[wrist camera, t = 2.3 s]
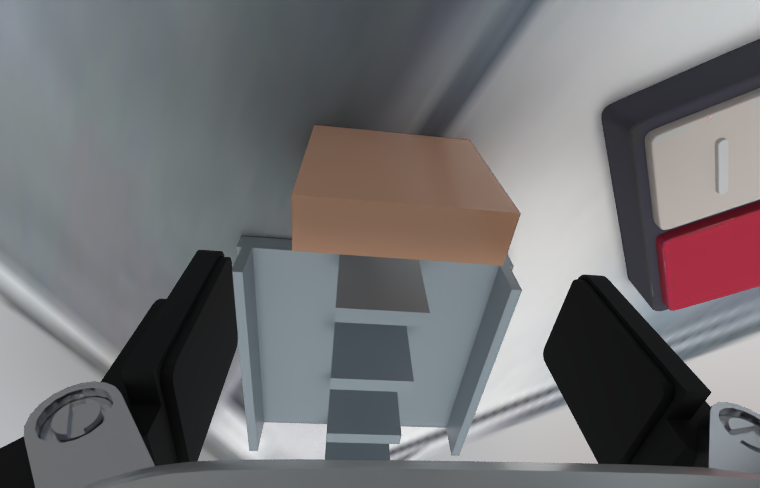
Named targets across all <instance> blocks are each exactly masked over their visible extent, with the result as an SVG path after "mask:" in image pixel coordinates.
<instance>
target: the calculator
mask: <svg viewBox="0 0 760 488" xmlns="http://www.w3.org/2000/svg"><path fill="white" fill-rule="evenodd" d="M602 125H603V131H604V137H605V143H606V149H607V155H608V161H609V167H610V173H611V179H612V185H613V191H614V197H615V203H616V209H617V214H618V220H619V226H620V232H621V238H622V244H623V250H624V256H625V262H626V268H627V274H628V278H629V280H630V281H631V283H632V284H633V285H634V287H635V288H636V289H637V290H638V292H639V293H640V294H641V295H642V297H643V298H644V299H645V300H646V302H647V303H648V304H649V305H650V307H651V308H652V309H653V310H655V311H663V310H667V309H669V310H678V309H682V308H685V307H689V306H692V305H696V304H699V303H703V302H706V301H710V300H713V299H717V298H720V297H724V296H727V295H731V294H734V293H738V292H741V291H745V290H748V289H752V288H755V287H758V286H760V39H759V40H757V41H755V42H752V43H750V44H747V45H745V46H743V47H740V48H738V49H735V50H733V51H731V52H728V53H726V54H724V55H721V56H719V57H717V58H714V59H712V60H710V61H707V62H705V63H703V64H701V65H698V66H696V67H694V68H691V69H689V70H687V71H685V72H682V73H680V74H678V75H675V76H673V77H671V78H669V79H666V80H664V81H662V82H659V83H657V84H655V85H653V86H650V87H648V88H646V89H643V90H641V91H639V92H637V93H634V94H632V95H630V96H627V97H625V98H623V99H621V100H618V101H616V102H614V103H612V104H610V105H608V106H607V107H606V108H605V109H604V111H603V112H602Z"/></svg>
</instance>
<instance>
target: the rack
mask: <svg viewBox="0 0 760 488" xmlns="http://www.w3.org/2000/svg"><path fill="white" fill-rule="evenodd" d="M512 269H513V264H512V262H511V260H510V258H509V257H508V255H507V256H506V259H505V262H504V264H503V266H500V265H486V264H472V263H457V262H443V261H428V260H414V259H400V258H385V257H371V256H357V255H342V254H328V253H314V252H299V251H292V240H290V239H276V238H262V237H248V236H241V238H240V240H239V243H238V245H237V259H236V261H235V263H234V266H233V268H232V273H233V284H234V296H235V307H236V319H237V330H238V345H239V355H240V365H241V374H242V384H243V393H244V403H245V413H246V422H247V432H248V442H249V451H258V447H259V442H260V438H261V433H262V428H263V424H264V422H278V423H311V424H327V436H326V452H325V460H390V454H389V444H399V443H400V439H401V427H400V426H410V427H443V428H446V429H447V434H448V440H449V445H450V450H451V455H455V456H459V454H460V451H461V449H462V446H463V444H464V441H465V438H466V436H467V433H468V431H469V428H470V425H471V423H472V420H473V417H474V415H475V412H476V410H477V407H478V404H479V402H480V399H481V396H482V394H483V391H484V388H485V386H486V383H487V381H488V378H489V375H490V373H491V370H492V367H493V365H494V362H495V360H496V357H497V354H498V352H499V349H500V346H501V344H502V341H503V338H504V336H505V333H506V331H507V328H508V325H509V323H510V320H511V317H512V315H513V312H514V310H515V307H516V304H517V302H518V299H519V296H520V294H521V291H522V289H521V288H520V286H519V284H518V282H517V280H516V278H515V276H514V274H513V272H512Z"/></svg>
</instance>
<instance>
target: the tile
mask: <svg viewBox="0 0 760 488" xmlns="http://www.w3.org/2000/svg"><path fill="white" fill-rule="evenodd" d="M520 214H521V213H520V212H519V210H518V209H517V207H516V206H515V204H514V203H513V202H512V200H511V199H510V197H509V196H508V194H507V193H506V192H505V190H504V189H503V187H502V186H501V184H500V183H499V181H498V180H497V179H496V177H495V176H494V174H493V173H492V171H491V170H490V168H489V167H488V166H487V164H486V163H485V161H484V160H483V158H482V157H481V155H480V154H479V153H478V151H477V150H476V148H475V147H474V145H473V144H472V143H471V141H470V140H463V139H453V138H443V137H433V136H423V135H413V134H403V133H392V132H382V131H372V130H362V129H352V128H342V127H332V126H321V125H314V127H313V130H312V133H311V137H310V140H309V143H308V146H307V149H306V152H305V155H304V158H303V161H302V164H301V167H300V170H299V173H298V177H297V180H296V183H295V186H294V189H293V192H292V251H299V252H314V253H328V254H342V255H357V256H371V257H385V258H400V259H414V260H428V261H443V262H457V263H472V264H486V265H500V266H503V264H504V262H505V259H506V256H507V253H508V250H509V247H510V244H511V241H512V238H513V235H514V232H515V229H516V226H517V223H518V220H519V217H520Z"/></svg>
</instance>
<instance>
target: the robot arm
mask: <svg viewBox="0 0 760 488" xmlns="http://www.w3.org/2000/svg"><path fill="white" fill-rule="evenodd" d="M237 342H238V330H237V319H236V307H235V296H234V284H233V273H232V262H231V258H230V257H224V254H223V252H222V251H209V250H198V251H197V252H196V254H195V256H194V257H193V259H192V260H191V262H190V263H189V265H188V267H187V268H186V270H185V271H184V273H183V274H182V276H181V278H180V279H179V281H178V282H177V284H176V285H175V287H174V288H173V290H172V292H171V293H170V295H169V296H168V298H167V299H159V300H156V302H155V303H154V304H153V305H152V307H151V308H150V310H149V311H148V313H147V314H146V315H145V317H144V318H143V320H142V321H141V323H140V324H139V326H138V327H137V329H136V330H135V332H134V333H133V335H132V336H131V338H130V339H129V341H128V342H127V344H126V345H125V347H124V348H123V350H122V351H121V353H120V354H119V356H118V357H117V359H116V360H115V362H114V363H113V365H112V366H111V368H110V369H109V370H108V372H107V373H106V375H105V376H104V378H103V379H102V381H101V382H87V383H80V384H77V385H74V386H71V387H67V388H65V389H63V390H61V391H59V392H57V393H55V394H53V395H52V396H50V397H49V398H48V399H46V400H45V401H43V402H42V403H41V404H40V405H39V406H38V407H37V408H36V409H35V410H34V411H33V412H32V414H31V415H30V416H29V418H28V420H27V422H26V424H25V426H24V437H22V438H20V439H18V440H16V441H14V442H12V443H10V444H8V445H6V446H4V447H2V448H0V488H760V415H759V414H757V413H755V412H753V411H751V410H750V409H748V408H745V407H742V406H740V405H737V404H733V403H728V402H720V403H719V402H718V403H716V404H714V405H713V406H712V407H710V406H709V405H708V404H707V403H706V401H705V400H706V399H707V397H708V396H709V395H710V393H711V391H710V390H709V389H708V388H707V387H706V386H705V385H704V384H703V383H702V381H701V380H700V379H699V378H698V377H697V376H696V375H695V374H694V373H693V372H692V370H691V369H690V368H689V367H688V366H687V365H686V364H685V363H684V362H683V361H682V360H681V358H680V357H679V356H678V355H677V354H676V353H675V352H674V351H673V350H672V349H671V348H670V346H669V345H668V344H667V343H666V342H665V341H664V340H663V339H662V338H661V337H660V335H659V334H658V333H657V332H656V331H655V330H654V329H653V328H652V327H651V326H650V325H649V323H648V322H647V321H646V320H645V319H644V318H643V317H642V316H641V315H640V314H639V313H638V311H637V310H636V309H635V308H634V307H633V306H632V305H631V304H630V303H629V302H628V300H627V299H626V298H625V297H624V296H623V295H622V294H621V293H620V292H619V291H618V290H617V288H616V287H615V286H614V285H613V284H612V283H611V282H610V281H609V280H608V279H607V278H606V277H605V276H597V275H581V276H580V277H579V278H578V279H576V280H574V281H573V282H572V284H571V287H570V289H569V291H568V294H567V296H566V298H565V301H564V303H563V305H562V308H561V310H560V312H559V315H558V317H557V319H556V322H555V324H554V326H553V329H552V331H551V334H550V336H549V338H548V341H547V343H546V345H545V348H544V352H543V356H544V361H545V363H546V365H547V367H548V369H549V371H550V373H551V374H552V376H553V378H554V380H555V382H556V384H557V386H558V388H559V390H560V392H561V393H562V395H563V397H564V399H565V401H566V403H567V405H568V407H569V409H570V410H571V412H572V414H573V416H574V418H575V420H576V422H577V424H578V426H579V428H580V429H581V431H582V433H583V435H584V437H585V439H586V441H587V443H588V445H589V446H590V448H591V450H592V452H593V454H594V456H595V458H596V460H597V462H598V464H582V463H580V464H579V463H533V462H474V461H472V462H471V461H404V460H304V459H296V460H216V461H198V458H199V455H200V452H201V449H202V446H203V443H204V440H205V438H206V435H207V432H208V429H209V426H210V423H211V420H212V417H213V414H214V412H215V409H216V406H217V403H218V400H219V397H220V394H221V391H222V388H223V385H224V383H225V380H226V377H227V374H228V371H229V368H230V365H231V362H232V359H233V357H234V354H235V351H236V347H237Z"/></svg>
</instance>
